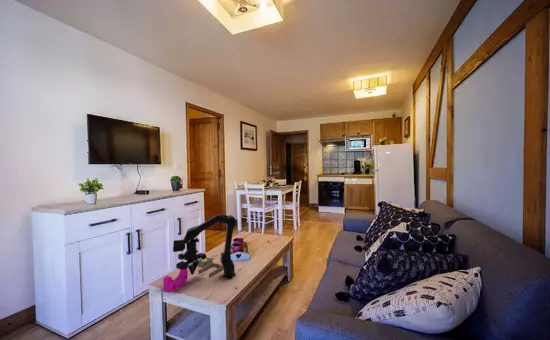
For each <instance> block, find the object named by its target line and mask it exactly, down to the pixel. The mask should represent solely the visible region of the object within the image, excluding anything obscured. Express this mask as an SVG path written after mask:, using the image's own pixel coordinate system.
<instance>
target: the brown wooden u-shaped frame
mask: <svg viewBox="0 0 550 340" xmlns="http://www.w3.org/2000/svg"><path fill="white" fill-rule="evenodd" d="M213 267H214V268H216V269H214V270H213V271H211V272H209V274H208V278H210V279H211V278H212V277H214V276H216V275H217V274H219V273H220V272H222V271H224V267H223V265H222V263H221V264H220V263H216V262H213V263H211V264H209V265H207V266H205V267H201V268H200V269H198V271H197V272H198V273H197V274H198V275H201V274H202V273H205V272H206V271H208V270H210V269H211V268H213Z"/></svg>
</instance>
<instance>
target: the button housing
mask: <svg viewBox="0 0 550 340" xmlns="http://www.w3.org/2000/svg"><path fill="white" fill-rule="evenodd" d="M206 258H207V261H205V262H203V261H202V258H200V259H198V262H200V263H199V264H198V266H197V267H201V268H204V267H205V266H207V265H209V264H211V263H214V262H213V258H211V257H207V256H206Z"/></svg>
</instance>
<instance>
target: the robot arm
mask: <svg viewBox="0 0 550 340" xmlns="http://www.w3.org/2000/svg"><path fill="white" fill-rule="evenodd" d="M218 222H219V223H223V224H225V226H226V232H225V239H224V240H225V241H224V247H223V252H221V253H220V258H219V260H220V263H221V265H223V267H224V270H223V276H222V278H223V279H228V280H231V279H232V278H234V277H235V276H237V274H236V272H235V271H236V270H235V267H236V265H235V263H234V261H233V259H232V255H231V248H232V242H233V241H232V240H233V232H234V229H235V227H236V223H237V220H236V218H235V216H234V215H232V214H230V215H226V214H225V215H224V214H221V213H217V214H215V215H214V216H212V217H211V218H209V219H207V220H206V221H204V222H202V223H200V224H199V225H195V226H193V227H189V228H188V229H187V230H186V233H185V235H184V236H183V239H174V240H173V246H172V252H173V253H177V252H184V250H185V249H186V251H185V252H184V253H179V254H178V255H177V258H178V261H179V260H181V261H179V262H177V263H176V265H175V269H178V270H179V271H180V270H184V269H186V268H187V269H188V270H189V272H190V275H192V276H193V275H194V274H195V272H196V269H197V268H198V267H199V266H198V264H199V263H200V262H198V260H199V259H201V258H202V259H203V260H204V259H206V257H207V254H206V253H204V252H203V253H202V252H199V250H198V249H197V243H200V239H199V238H198V236H199V235H200V234H201V233H202V232H204V231H205V230H206V229H208V228H210V227H211V226H213V225H215V224H217V223H218ZM183 260H184V261H183Z"/></svg>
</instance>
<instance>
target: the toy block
mask: <svg viewBox="0 0 550 340" xmlns="http://www.w3.org/2000/svg"><path fill="white" fill-rule="evenodd" d="M188 270H189V269H188V267H187V268H186V269H184V270H180V269H179V273H178V275H177V277H175V278H172V276H169V275H166V276H164V277H163V278H162V280H163V281H162V285H163V286H162V287H163V290H164V291H165V292H169V293H173V292H174V291H176V290H177V289H179V288H180V286H181V287H182V286H183V285H185V284H186V281H187V280H188V279H189V278H188V277H189V276H188V275H189V274H188V273H189V272H188ZM178 287H179V288H178ZM176 288H177V289H176ZM175 289H176V290H175ZM173 290H174V291H173ZM172 291H173V292H172Z"/></svg>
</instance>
